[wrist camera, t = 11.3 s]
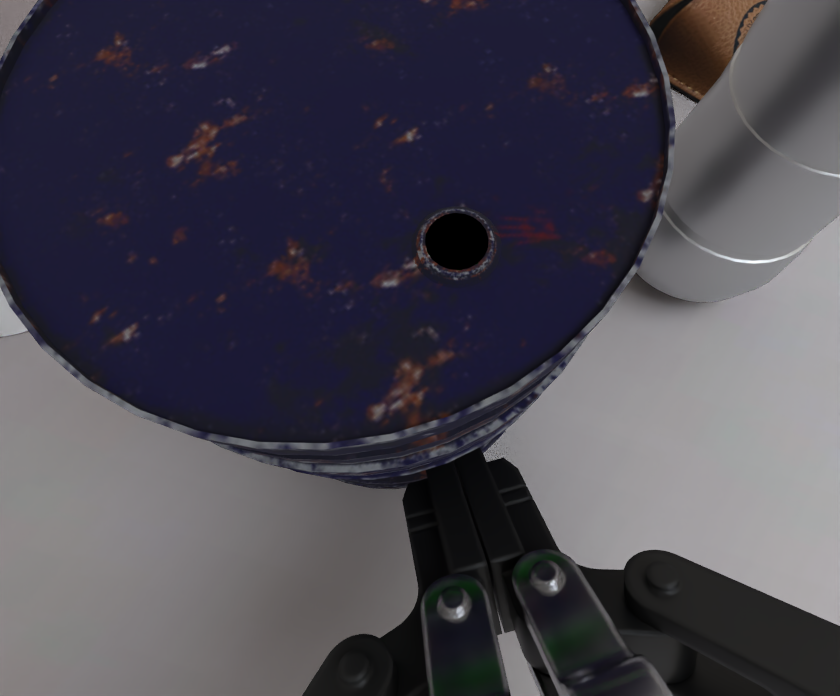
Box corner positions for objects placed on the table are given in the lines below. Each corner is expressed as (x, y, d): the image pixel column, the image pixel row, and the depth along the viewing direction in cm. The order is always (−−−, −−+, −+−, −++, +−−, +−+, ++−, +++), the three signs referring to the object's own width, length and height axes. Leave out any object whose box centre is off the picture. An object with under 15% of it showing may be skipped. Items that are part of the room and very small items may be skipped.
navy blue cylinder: (229, 351, 22) (-152, 65, 8) (410, 218, 24) (379, -225, 9) (375, 547, 20) (223, 669, 5) (564, 384, 21) (844, 136, 7)
